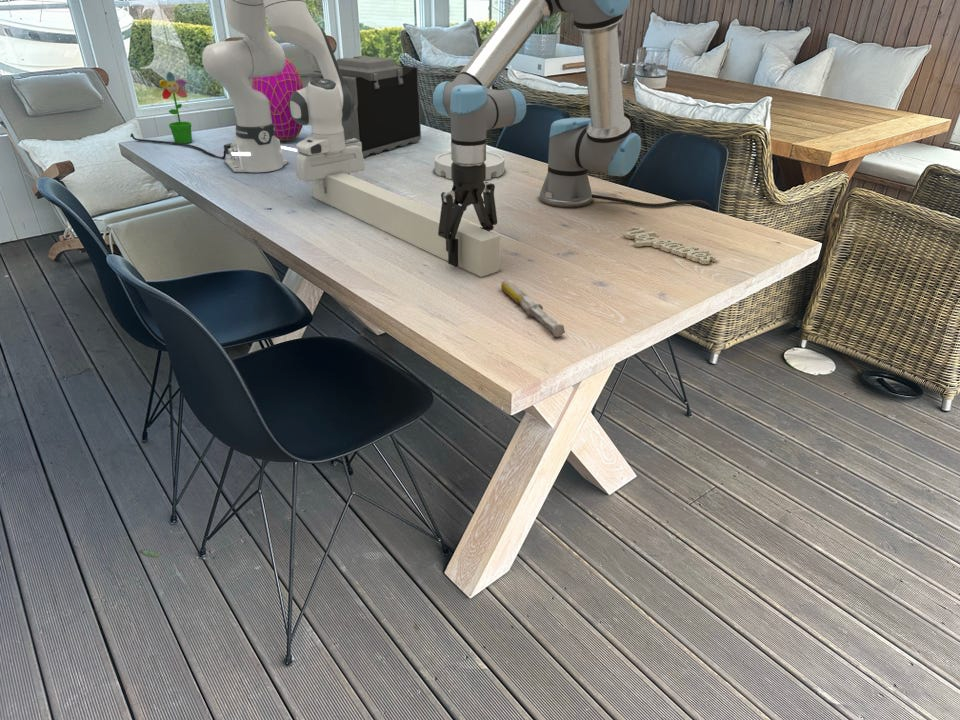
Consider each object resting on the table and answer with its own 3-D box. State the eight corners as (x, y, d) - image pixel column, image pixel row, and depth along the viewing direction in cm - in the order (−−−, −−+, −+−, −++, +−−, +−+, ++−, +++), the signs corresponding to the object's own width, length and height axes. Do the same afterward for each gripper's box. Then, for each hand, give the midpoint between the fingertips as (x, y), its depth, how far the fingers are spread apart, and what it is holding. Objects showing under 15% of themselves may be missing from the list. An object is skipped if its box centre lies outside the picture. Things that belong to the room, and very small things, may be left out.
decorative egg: (293, 132, 276) (283, 50, 261) (319, 140, 264) (310, 56, 249) (249, 139, 265) (236, 54, 250) (273, 148, 253) (261, 60, 238)
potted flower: (172, 145, 255) (157, 73, 243) (170, 140, 261) (154, 70, 249) (199, 142, 259) (185, 71, 247) (196, 138, 265) (182, 68, 253)
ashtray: (437, 161, 240) (437, 149, 238) (504, 162, 239) (504, 150, 237) (431, 179, 220) (431, 167, 218) (504, 181, 219) (504, 168, 217)
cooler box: (383, 133, 276) (378, 52, 261) (425, 141, 265) (422, 56, 250) (314, 150, 251) (304, 61, 235) (358, 160, 240) (350, 67, 224)
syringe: (497, 287, 149) (497, 275, 147) (512, 284, 150) (513, 273, 149) (547, 340, 129) (548, 327, 128) (565, 336, 130) (566, 324, 129)
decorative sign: (611, 234, 176) (635, 225, 181) (610, 237, 176) (634, 229, 182) (700, 264, 159) (723, 254, 164) (699, 268, 159) (723, 257, 165)
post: (499, 271, 157) (500, 235, 153) (481, 277, 154) (481, 241, 150) (329, 193, 206) (326, 165, 202) (313, 197, 203) (310, 168, 199)
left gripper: (354, 135, 199) (358, 182, 206) (290, 145, 187) (296, 195, 194) (366, 139, 195) (370, 187, 202) (301, 149, 183) (307, 200, 190)
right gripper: (493, 151, 157) (491, 245, 168) (418, 166, 145) (422, 266, 156) (515, 157, 152) (512, 254, 164) (440, 174, 140) (442, 276, 152)
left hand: (333, 191), depth 198 cm, fingers closed on post, 5 cm apart
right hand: (468, 259), depth 160 cm, fingers open, 8 cm apart
